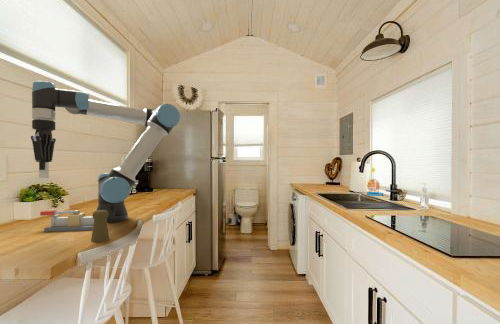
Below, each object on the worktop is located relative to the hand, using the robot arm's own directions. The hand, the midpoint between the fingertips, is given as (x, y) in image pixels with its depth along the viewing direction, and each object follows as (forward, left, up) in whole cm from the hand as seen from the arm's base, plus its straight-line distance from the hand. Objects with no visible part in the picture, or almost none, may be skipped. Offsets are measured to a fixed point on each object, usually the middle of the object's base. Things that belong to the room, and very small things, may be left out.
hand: (43, 177), depth 108 cm
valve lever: (-4, -6, -16) cm, 17 cm away
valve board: (-9, -6, -22) cm, 25 cm away
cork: (-26, +14, -23) cm, 37 cm away
